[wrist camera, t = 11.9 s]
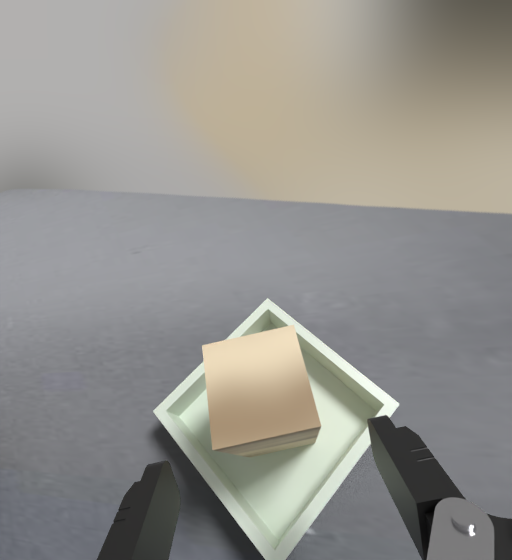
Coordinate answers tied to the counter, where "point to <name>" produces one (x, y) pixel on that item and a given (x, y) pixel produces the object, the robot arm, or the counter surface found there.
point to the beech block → (259, 394)
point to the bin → (286, 463)
